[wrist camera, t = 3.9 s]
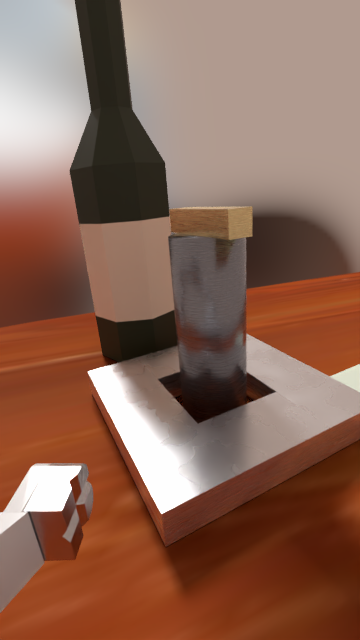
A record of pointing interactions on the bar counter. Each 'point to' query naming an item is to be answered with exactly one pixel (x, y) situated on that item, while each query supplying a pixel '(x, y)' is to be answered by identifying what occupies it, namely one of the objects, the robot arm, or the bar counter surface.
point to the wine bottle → (121, 199)
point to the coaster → (349, 377)
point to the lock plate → (220, 433)
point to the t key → (210, 306)
